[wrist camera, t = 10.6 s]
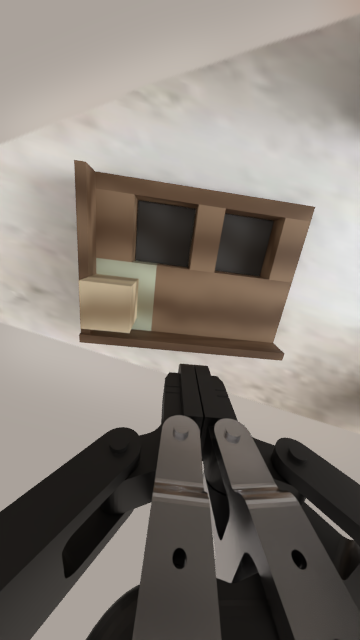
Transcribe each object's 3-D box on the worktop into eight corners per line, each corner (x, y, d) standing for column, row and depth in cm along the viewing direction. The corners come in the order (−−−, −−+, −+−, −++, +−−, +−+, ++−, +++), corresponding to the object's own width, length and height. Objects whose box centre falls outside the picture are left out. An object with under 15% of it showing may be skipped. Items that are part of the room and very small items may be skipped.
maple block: (96, 273, 24) (78, 280, 19) (138, 278, 25) (131, 286, 20) (96, 313, 26) (80, 328, 21) (136, 317, 26) (129, 333, 22)
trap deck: (95, 179, 23) (71, 157, 18) (299, 211, 26) (335, 201, 20) (97, 323, 29) (79, 342, 24) (262, 340, 32) (281, 360, 26)
